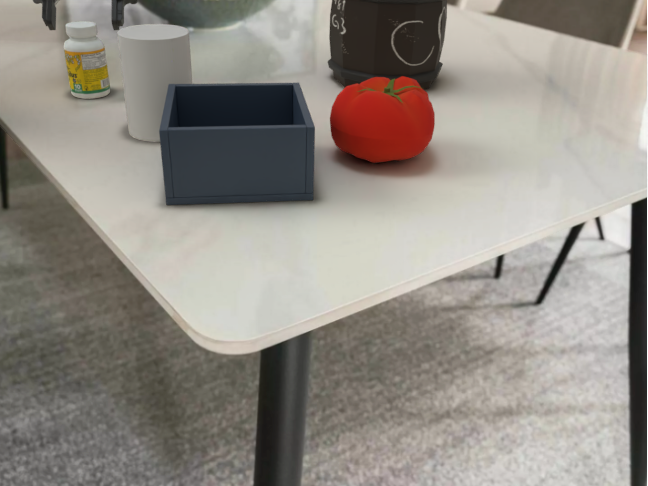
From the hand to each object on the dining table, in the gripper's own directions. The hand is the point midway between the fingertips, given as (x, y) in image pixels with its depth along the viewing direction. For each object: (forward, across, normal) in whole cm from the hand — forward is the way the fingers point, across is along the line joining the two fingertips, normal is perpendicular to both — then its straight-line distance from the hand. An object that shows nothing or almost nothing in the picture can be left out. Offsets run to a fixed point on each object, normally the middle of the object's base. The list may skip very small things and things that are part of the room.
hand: (83, 27), depth 93 cm
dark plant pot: (+3, +44, +10) cm, 45 cm away
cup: (+18, +11, -5) cm, 22 cm away
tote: (+28, +20, -15) cm, 38 cm away
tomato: (+25, +37, -12) cm, 46 cm away
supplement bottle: (+8, 0, +5) cm, 9 cm away
